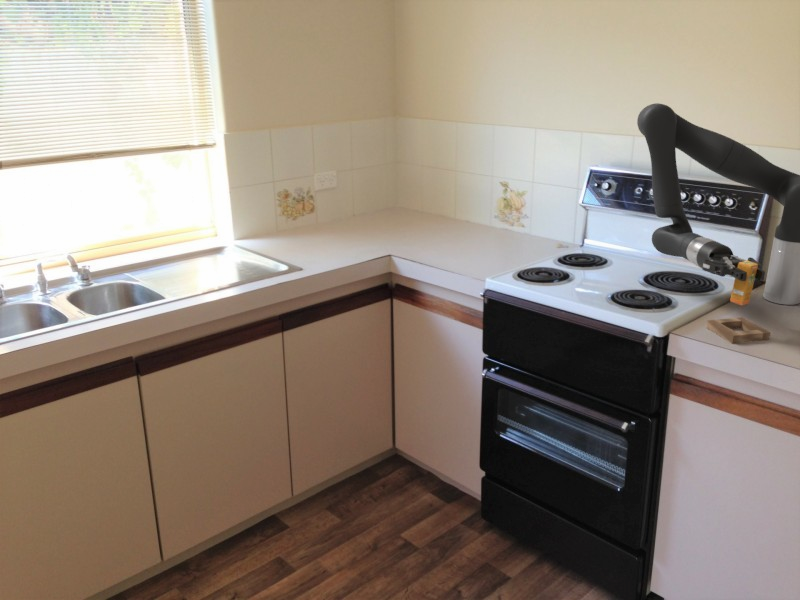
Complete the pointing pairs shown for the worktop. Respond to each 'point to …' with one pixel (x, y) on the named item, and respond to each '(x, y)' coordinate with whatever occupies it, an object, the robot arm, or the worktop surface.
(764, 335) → the socket board
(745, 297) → the supplement box
